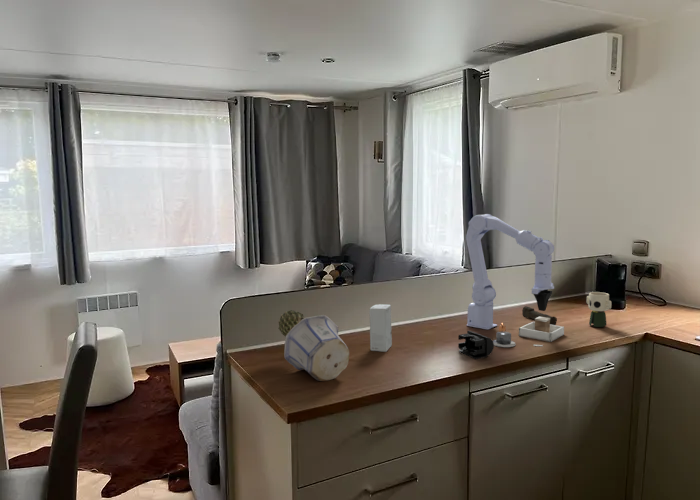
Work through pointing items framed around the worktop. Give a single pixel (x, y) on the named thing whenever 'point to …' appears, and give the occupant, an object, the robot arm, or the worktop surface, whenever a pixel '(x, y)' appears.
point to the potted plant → (313, 345)
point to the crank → (503, 335)
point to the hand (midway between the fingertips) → (542, 310)
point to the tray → (532, 333)
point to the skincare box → (380, 327)
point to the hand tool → (537, 315)
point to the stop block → (542, 324)
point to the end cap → (475, 345)
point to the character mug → (598, 308)
